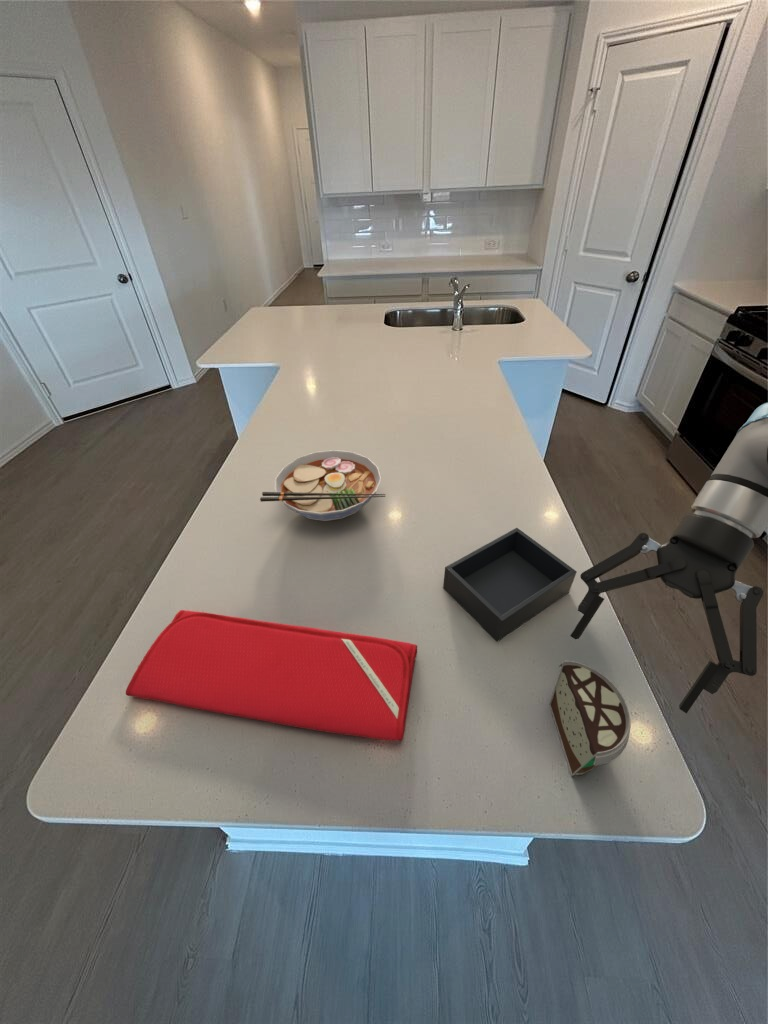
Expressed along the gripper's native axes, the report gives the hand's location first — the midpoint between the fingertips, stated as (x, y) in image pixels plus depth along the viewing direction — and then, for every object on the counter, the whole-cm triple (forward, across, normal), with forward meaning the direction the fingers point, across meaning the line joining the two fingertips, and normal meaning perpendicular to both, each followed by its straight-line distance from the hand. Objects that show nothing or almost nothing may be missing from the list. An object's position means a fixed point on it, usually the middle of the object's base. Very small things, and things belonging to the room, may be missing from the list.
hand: (624, 671), depth 55 cm
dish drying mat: (+28, +37, +13) cm, 48 cm away
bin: (+1, +22, -14) cm, 26 cm away
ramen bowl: (+7, +63, -9) cm, 64 cm away
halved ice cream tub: (+11, 0, -4) cm, 12 cm away
